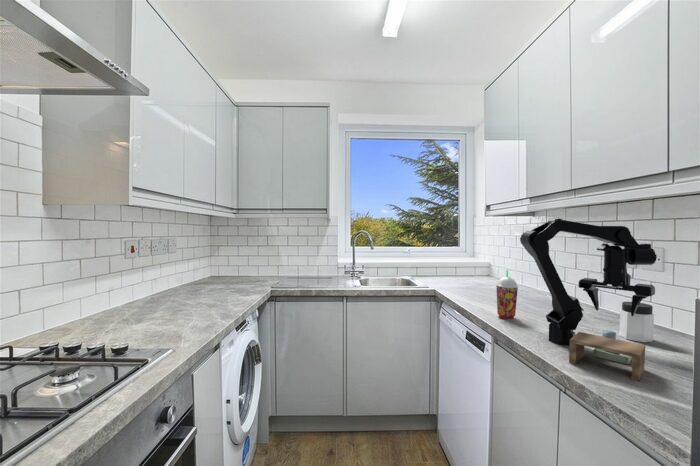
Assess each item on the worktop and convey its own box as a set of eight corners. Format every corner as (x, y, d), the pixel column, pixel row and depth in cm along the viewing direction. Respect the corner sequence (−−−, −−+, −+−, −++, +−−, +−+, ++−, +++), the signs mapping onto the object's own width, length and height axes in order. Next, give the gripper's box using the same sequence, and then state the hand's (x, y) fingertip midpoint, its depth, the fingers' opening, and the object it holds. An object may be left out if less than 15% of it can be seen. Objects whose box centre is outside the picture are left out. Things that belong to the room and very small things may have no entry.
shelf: (568, 365, 94) (569, 339, 94) (578, 355, 101) (579, 331, 101) (639, 384, 83) (640, 355, 83) (644, 372, 90) (645, 345, 90)
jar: (653, 338, 118) (654, 304, 117) (652, 344, 112) (654, 308, 111) (620, 332, 124) (621, 300, 123) (618, 338, 118) (619, 303, 117)
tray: (593, 358, 99) (593, 349, 99) (601, 348, 108) (602, 340, 107) (628, 367, 93) (628, 357, 93) (634, 355, 102) (634, 347, 102)
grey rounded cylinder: (601, 345, 110) (601, 331, 110) (603, 342, 113) (603, 329, 112) (614, 348, 108) (614, 334, 108) (616, 345, 110) (616, 332, 110)
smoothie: (492, 314, 147) (494, 268, 146) (513, 315, 145) (514, 269, 145) (498, 319, 138) (499, 271, 138) (520, 320, 137) (521, 272, 137)
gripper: (659, 265, 106) (658, 314, 106) (589, 260, 121) (589, 303, 121) (651, 268, 99) (650, 321, 100) (578, 263, 114) (577, 309, 114)
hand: (614, 313), depth 109 cm, fingers open, 9 cm apart
